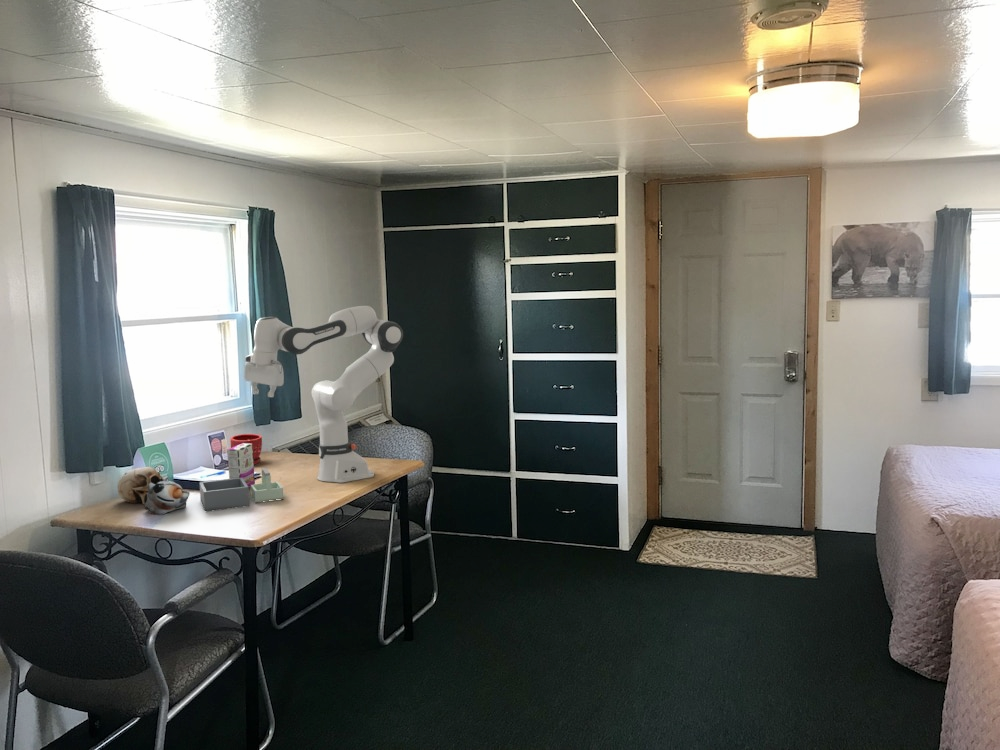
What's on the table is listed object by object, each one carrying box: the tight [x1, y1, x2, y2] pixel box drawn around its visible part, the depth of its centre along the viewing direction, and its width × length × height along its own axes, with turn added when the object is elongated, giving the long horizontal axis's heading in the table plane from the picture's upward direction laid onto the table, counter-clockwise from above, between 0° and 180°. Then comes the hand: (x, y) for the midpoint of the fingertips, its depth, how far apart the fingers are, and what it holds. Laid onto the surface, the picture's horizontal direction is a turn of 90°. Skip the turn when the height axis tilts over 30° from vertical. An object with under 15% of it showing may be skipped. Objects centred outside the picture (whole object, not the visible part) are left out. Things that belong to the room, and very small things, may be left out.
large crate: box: [199, 478, 250, 512], centre depth 297 cm, size 15×15×7 cm
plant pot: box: [229, 433, 263, 465], centre depth 358 cm, size 13×13×12 cm
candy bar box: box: [227, 443, 256, 488], centre depth 318 cm, size 11×5×16 cm, turn 168°
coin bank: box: [117, 466, 165, 505], centre depth 302 cm, size 16×17×13 cm
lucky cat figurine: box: [144, 480, 190, 515], centre depth 288 cm, size 15×12×14 cm
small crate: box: [250, 468, 284, 504], centre depth 303 cm, size 10×10×10 cm
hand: (262, 395), depth 313 cm, fingers open, 8 cm apart
